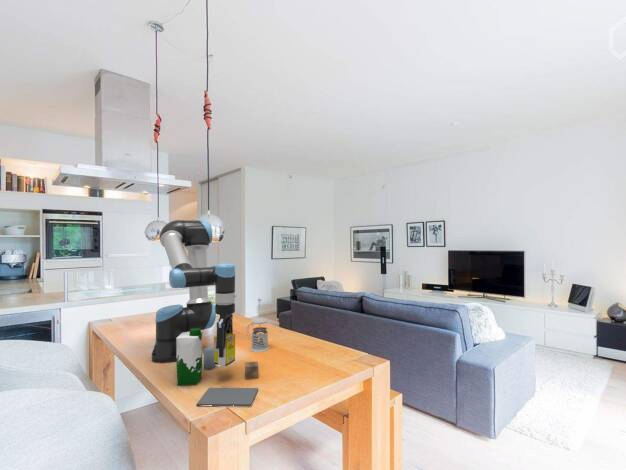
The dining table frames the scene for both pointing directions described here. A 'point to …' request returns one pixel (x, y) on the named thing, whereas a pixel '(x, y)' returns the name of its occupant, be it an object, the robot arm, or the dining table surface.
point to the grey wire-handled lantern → (259, 335)
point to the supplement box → (229, 349)
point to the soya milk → (189, 357)
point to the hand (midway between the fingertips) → (224, 361)
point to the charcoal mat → (228, 397)
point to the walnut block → (251, 370)
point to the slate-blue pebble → (208, 358)
